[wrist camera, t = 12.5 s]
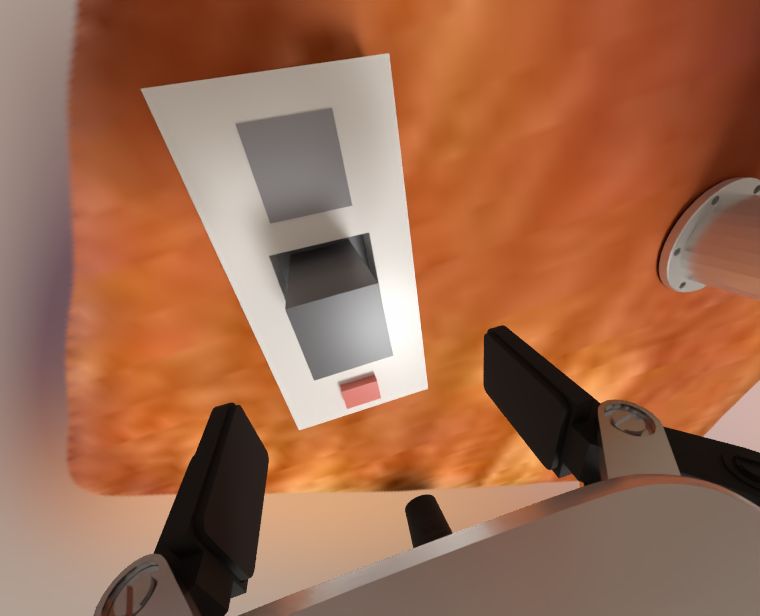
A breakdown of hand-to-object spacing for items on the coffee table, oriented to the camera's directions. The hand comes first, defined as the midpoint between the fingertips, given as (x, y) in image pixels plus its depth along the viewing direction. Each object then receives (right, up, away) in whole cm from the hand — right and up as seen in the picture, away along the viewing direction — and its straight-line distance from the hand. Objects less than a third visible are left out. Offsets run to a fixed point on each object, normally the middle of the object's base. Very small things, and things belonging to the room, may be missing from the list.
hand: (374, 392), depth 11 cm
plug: (-4, +6, +12) cm, 13 cm away
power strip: (-4, +6, +12) cm, 14 cm away
